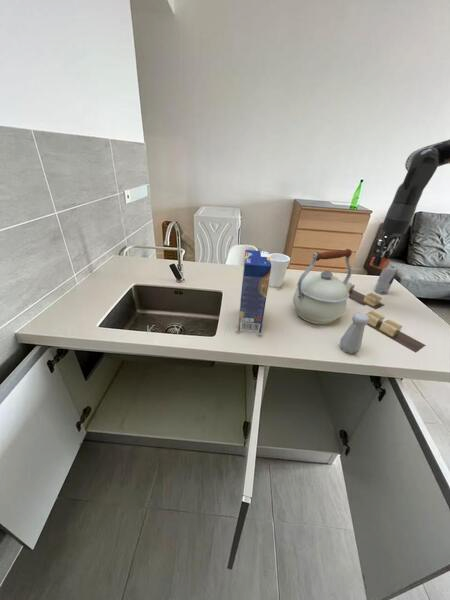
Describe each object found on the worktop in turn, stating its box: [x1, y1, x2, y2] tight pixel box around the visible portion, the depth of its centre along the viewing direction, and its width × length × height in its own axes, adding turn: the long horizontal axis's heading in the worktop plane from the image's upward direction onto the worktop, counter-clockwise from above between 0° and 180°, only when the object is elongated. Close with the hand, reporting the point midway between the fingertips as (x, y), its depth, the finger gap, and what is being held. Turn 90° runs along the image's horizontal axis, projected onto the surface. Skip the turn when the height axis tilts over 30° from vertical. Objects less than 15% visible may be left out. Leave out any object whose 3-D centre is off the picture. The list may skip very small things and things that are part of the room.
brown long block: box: [345, 281, 386, 311], centre depth 103 cm, size 7×20×4 cm, turn 32°
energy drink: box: [374, 264, 399, 295], centre depth 107 cm, size 5×5×12 cm
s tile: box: [369, 256, 391, 270], centre depth 90 cm, size 4×4×3 cm
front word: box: [365, 310, 427, 353], centre depth 83 cm, size 7×20×4 cm, turn 32°
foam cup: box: [268, 252, 291, 288], centre depth 108 cm, size 10×9×13 cm
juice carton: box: [237, 249, 271, 334], centre depth 79 cm, size 12×8×24 cm, turn 175°
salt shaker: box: [339, 311, 369, 355], centre depth 72 cm, size 6×6×13 cm
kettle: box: [292, 248, 354, 325], centre depth 86 cm, size 25×18×25 cm
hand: (379, 264), depth 91 cm, fingers closed on s tile, 4 cm apart
